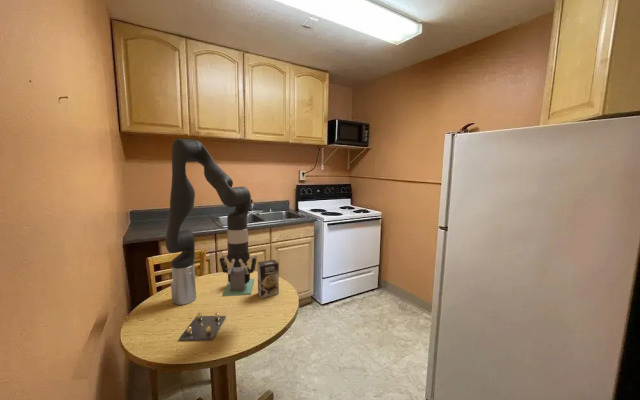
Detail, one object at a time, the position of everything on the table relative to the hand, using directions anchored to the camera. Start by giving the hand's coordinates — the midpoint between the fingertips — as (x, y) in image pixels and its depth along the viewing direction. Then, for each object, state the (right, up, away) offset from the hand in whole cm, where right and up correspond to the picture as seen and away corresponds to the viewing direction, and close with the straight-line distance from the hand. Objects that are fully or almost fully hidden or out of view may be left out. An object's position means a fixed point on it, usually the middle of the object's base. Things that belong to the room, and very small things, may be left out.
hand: (239, 282), depth 101 cm
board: (0, -2, 0) cm, 2 cm away
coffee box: (+6, -15, +29) cm, 33 cm away
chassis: (-14, -18, +1) cm, 23 cm away
